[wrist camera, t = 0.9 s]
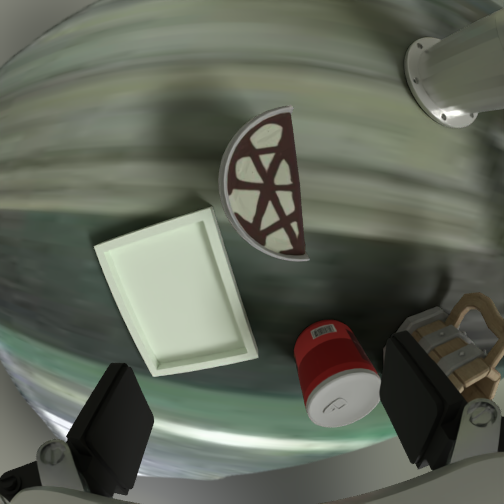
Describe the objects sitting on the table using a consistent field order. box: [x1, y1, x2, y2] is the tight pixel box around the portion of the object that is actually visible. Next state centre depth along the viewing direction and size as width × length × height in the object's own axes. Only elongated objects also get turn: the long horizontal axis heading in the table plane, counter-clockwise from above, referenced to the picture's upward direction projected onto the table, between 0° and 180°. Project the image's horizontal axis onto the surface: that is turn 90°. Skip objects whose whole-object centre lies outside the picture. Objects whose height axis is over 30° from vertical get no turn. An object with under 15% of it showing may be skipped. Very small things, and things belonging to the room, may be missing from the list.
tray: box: [94, 206, 258, 377], centre depth 32 cm, size 14×18×2 cm
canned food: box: [294, 320, 381, 427], centre depth 30 cm, size 8×8×11 cm
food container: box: [218, 105, 310, 261], centre depth 25 cm, size 12×6×10 cm, turn 7°
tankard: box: [383, 292, 504, 403], centre depth 28 cm, size 20×13×15 cm, turn 149°
